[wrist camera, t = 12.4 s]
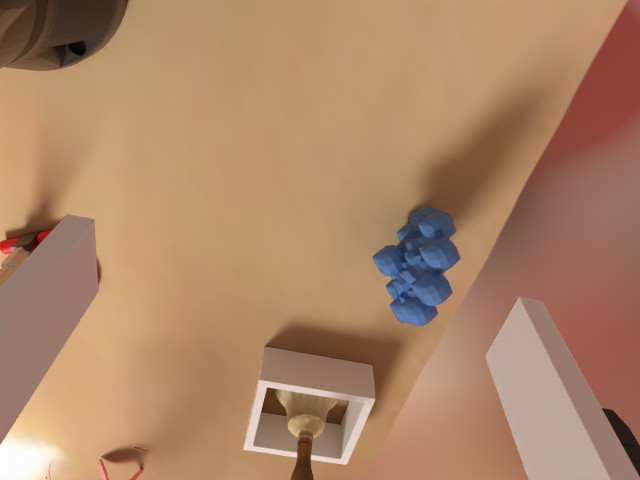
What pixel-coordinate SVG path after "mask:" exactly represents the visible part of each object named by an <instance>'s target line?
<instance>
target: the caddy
mask: <svg viewBox="0 0 640 480" xmlns="http://www.w3.org/2000/svg"><path fill="white" fill-rule="evenodd" d="M267 387H268V388H274V389H280V390H286V391H293V392H299V393H305V394H311V395H317V396H323V397H329V398H335V399H342V400H348V401H349V404H348V407H347V409H346V412H345V414H344V417H343V419H342V422H341V424H340V425H339V424H333V423H325V429H324V431H323V432H322V434H320V435H319V436H317V437H315V438H313V442H312V451H311V460H317V461H324V462H330V463H337V464H344V465H347V463H348V461H349V458H350V456H351V454H352V452H353V449H354V447H355V445H356V442H357V440H358V438H359V436H360V433H361V431H362V429H363V427H364V424H365V422H366V420H367V418H368V415H369V413H370V411H371V409H372V406H373V404H374V402H375V399H376V397H375V386H374V375H373V365H370V364H364V363H358V362H353V361H347V360H341V359H335V358H329V357H324V356H318V355H312V354H306V353H300V352H295V351H289V350H283V349H277V348H271V347H266V346H265V348H264V352H263V356H262V361H261V365H260V370H259V374H258V379H257V383H256V388H255V392H254V397H253V401H252V406H251V410H250V415H249V420H248V426H247V432H246V438H245V444H244V450H250V451H257V452H264V453H270V454H277V455H284V456H290V457H297V447H298V445H297V443H298V437H296V436H295V435H293V434H292V433H291V432H290V431H289V429H288V425H287V416H282V415H276V414H269V413H263V412H261V410H262V406H263V402H264V398H265V393H266V389H267Z"/></svg>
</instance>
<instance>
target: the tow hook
mask: <svg viewBox="0 0 640 480" xmlns="http://www.w3.org/2000/svg"><path fill="white" fill-rule="evenodd" d="M51 231H52V230H50V231H45V232H36V233H31V234H27V235H23V236H21V237H18V238H13V239H9V240H4V241H1V242H0V250H1V252H2V253H4V254H10V255H9V256H8V257H7V258H6V259H5V260H4V261H3V263H2V264H1V267H2V268H1V269H0V287H1V286H2V285H3V284H4V282H5V281H6V280H7V279H8V278H9V277H10V276H11V275H12V274H13V273H14V272H15V270H16V269H17V268H18V267H19V266H20V265H21V264H22V263H23V262H24V261H25V260H26V259H27V257H28V256H29V255H30V254H31V253H32V252H33V251H34V250H35V249H36V248H37V247H38V245H39V244H40V243H41V242H42V241H43V240H44V239H45V238H46V237H47V236H48V235H49V234H50V232H51ZM97 274H98V272H97ZM98 283H99V276H98Z"/></svg>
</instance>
